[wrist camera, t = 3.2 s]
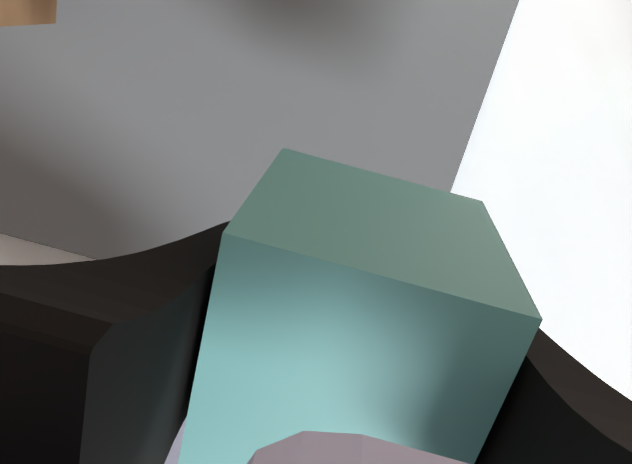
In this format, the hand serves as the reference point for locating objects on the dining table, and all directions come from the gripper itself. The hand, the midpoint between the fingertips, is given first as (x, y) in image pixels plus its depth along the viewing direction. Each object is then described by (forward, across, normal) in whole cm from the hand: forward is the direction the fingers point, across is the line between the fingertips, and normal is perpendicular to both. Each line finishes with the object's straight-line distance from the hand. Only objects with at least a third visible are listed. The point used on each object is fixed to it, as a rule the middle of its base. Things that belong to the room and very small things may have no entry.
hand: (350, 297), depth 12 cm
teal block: (+1, 0, 0) cm, 1 cm away
